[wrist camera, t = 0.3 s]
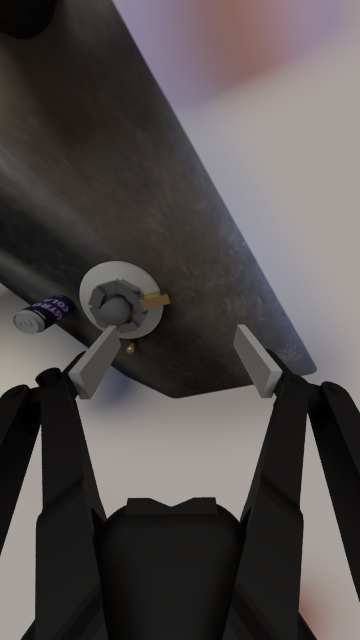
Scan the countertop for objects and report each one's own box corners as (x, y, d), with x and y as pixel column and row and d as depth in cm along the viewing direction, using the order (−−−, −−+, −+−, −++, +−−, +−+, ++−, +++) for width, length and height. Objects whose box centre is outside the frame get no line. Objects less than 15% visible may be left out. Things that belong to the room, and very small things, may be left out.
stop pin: (130, 339, 47) (124, 349, 43) (136, 337, 47) (131, 347, 43) (132, 344, 48) (127, 354, 44) (138, 342, 48) (134, 353, 43)
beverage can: (79, 311, 43) (45, 334, 32) (60, 313, 43) (20, 336, 32) (70, 292, 40) (31, 310, 30) (50, 294, 40) (4, 313, 30)
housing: (66, 274, 38) (42, 280, 31) (147, 250, 36) (139, 251, 29) (106, 342, 48) (94, 358, 41) (172, 327, 45) (171, 341, 39)
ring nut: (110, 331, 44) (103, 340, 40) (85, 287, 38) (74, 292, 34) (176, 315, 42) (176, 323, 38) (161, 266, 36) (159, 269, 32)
